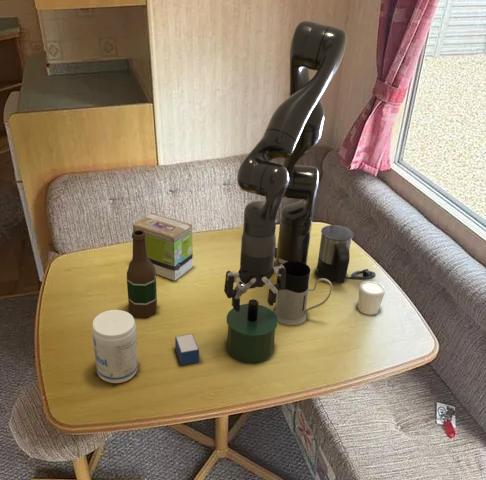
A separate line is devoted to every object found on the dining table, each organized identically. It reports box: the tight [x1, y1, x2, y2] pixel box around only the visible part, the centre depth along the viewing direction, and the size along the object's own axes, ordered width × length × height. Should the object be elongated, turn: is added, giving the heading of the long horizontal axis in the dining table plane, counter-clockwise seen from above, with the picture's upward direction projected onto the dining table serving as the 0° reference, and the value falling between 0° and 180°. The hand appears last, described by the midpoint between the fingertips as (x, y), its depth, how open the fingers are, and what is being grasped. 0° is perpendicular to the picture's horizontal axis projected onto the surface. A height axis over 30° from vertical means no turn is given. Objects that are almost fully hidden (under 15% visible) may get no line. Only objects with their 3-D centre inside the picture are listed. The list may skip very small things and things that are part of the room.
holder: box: [273, 261, 333, 326], centre depth 145 cm, size 9×14×15 cm, turn 69°
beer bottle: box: [126, 230, 158, 319], centre depth 144 cm, size 8×8×24 cm
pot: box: [226, 325, 276, 364], centre depth 136 cm, size 11×11×8 cm
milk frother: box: [314, 224, 377, 284], centre depth 162 cm, size 14×16×15 cm
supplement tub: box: [91, 309, 139, 384], centre depth 126 cm, size 10×10×15 cm
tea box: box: [132, 212, 194, 281], centre depth 165 cm, size 15×10×15 cm
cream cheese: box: [174, 333, 200, 366], centre depth 134 cm, size 6×4×4 cm
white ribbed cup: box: [357, 280, 386, 316], centre depth 151 cm, size 7×7×7 cm
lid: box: [226, 298, 279, 337], centre depth 132 cm, size 12×12×6 cm
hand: (253, 306), depth 131 cm, fingers open, 8 cm apart
